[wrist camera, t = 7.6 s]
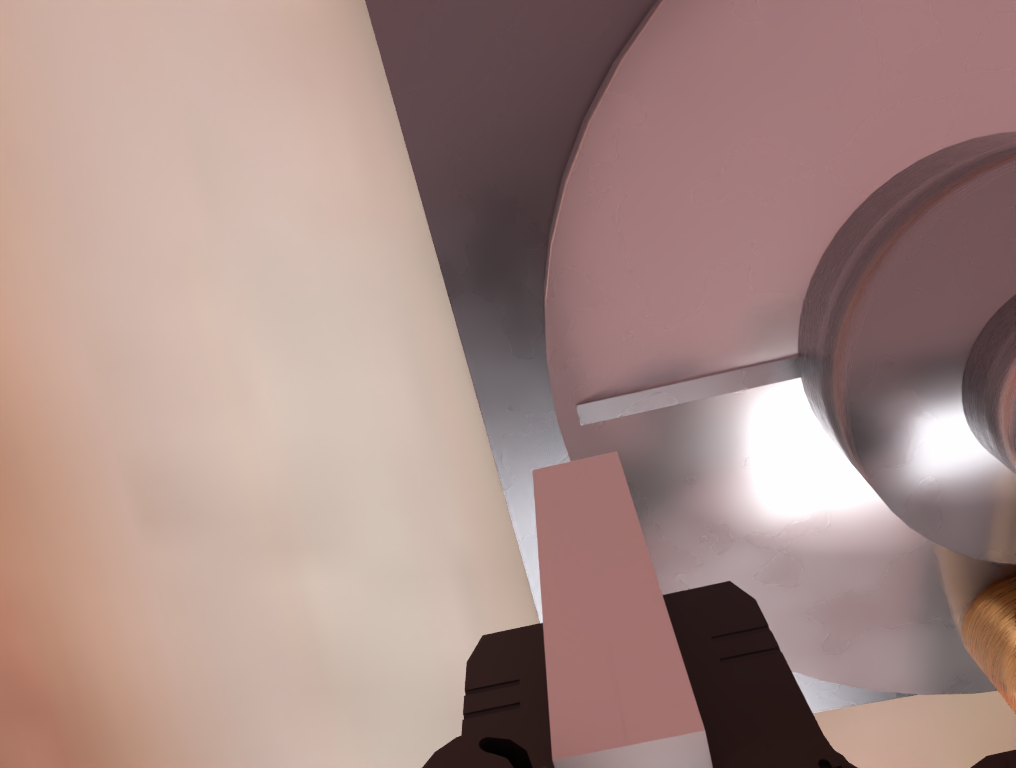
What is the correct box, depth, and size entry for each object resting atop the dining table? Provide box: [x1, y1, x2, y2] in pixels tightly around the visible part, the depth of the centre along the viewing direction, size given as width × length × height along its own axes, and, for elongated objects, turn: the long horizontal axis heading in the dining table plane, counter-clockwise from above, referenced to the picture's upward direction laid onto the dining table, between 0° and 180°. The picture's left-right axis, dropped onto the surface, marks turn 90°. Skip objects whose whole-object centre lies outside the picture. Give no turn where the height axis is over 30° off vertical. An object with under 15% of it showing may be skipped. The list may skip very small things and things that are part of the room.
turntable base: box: [365, 0, 919, 713], centre depth 20 cm, size 24×24×1 cm
